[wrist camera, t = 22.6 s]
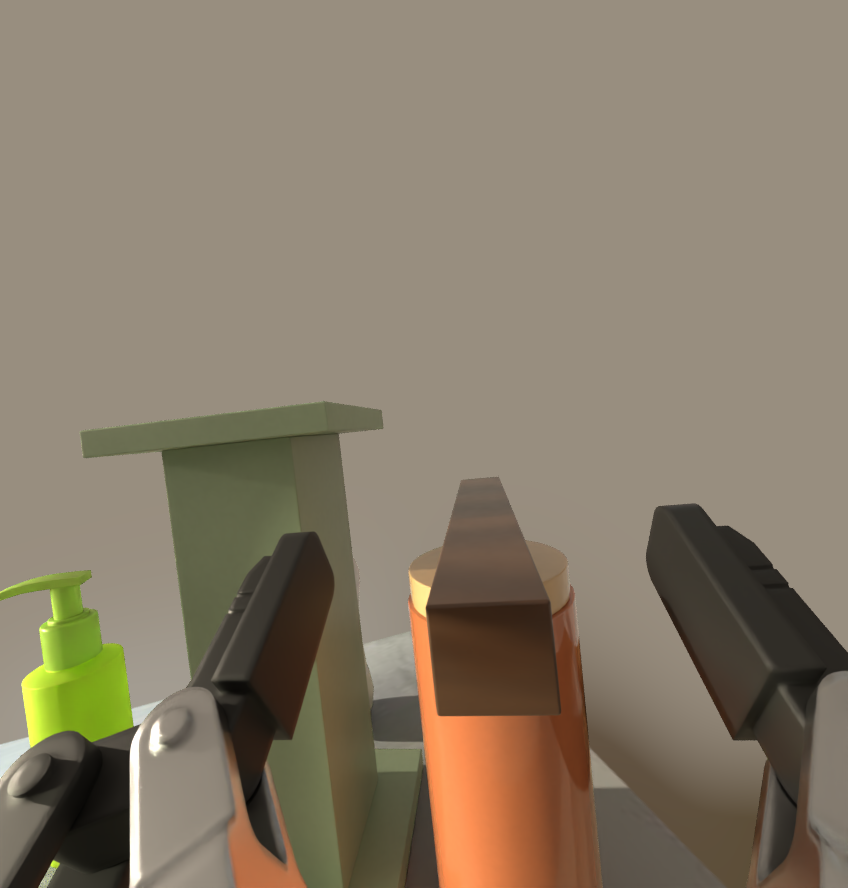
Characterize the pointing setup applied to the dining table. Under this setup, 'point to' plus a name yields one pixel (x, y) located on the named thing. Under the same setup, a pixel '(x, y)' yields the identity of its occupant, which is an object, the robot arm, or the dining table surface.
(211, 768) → the robot arm
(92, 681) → the soap dispenser
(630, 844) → the dining table surface
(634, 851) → the dining table surface
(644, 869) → the dining table surface
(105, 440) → the plant stand
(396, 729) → the dining table surface
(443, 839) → the terracotta jar
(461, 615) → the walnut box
